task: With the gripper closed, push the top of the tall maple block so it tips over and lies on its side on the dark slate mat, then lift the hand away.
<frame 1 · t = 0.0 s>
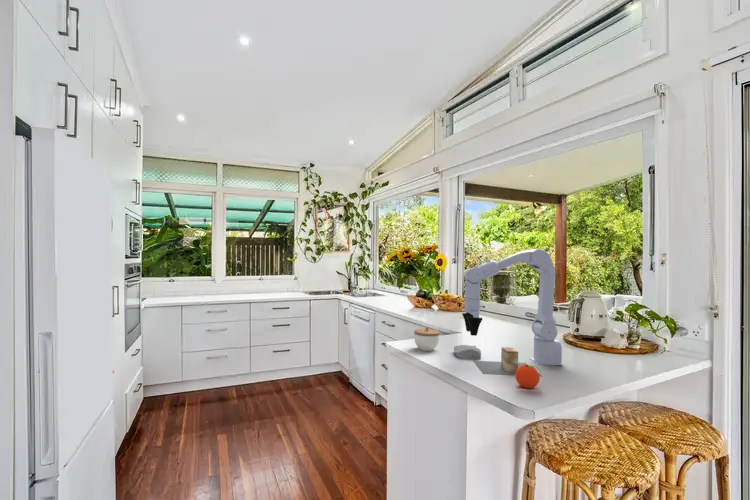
hand: (471, 333, 143), 10 cm above the worktop, tool pointing down, fingers open, 7 cm apart
clementine: (528, 388, 113), on the worktop
maple block: (509, 368, 131), resting on slate mat
stone block: (465, 357, 148), on the worktop
lidded jar: (426, 349, 157), on the worktop
slate mat: (505, 368, 132), on the worktop
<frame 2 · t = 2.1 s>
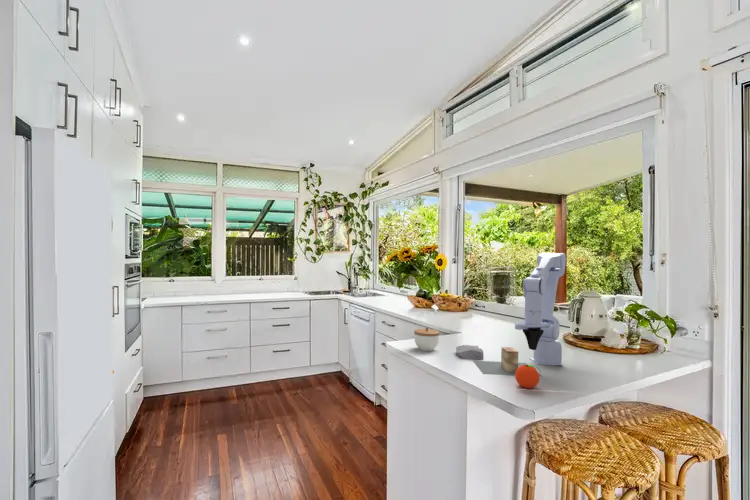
hand: (532, 349, 130), 8 cm above the worktop, tool pointing down, fingers closed
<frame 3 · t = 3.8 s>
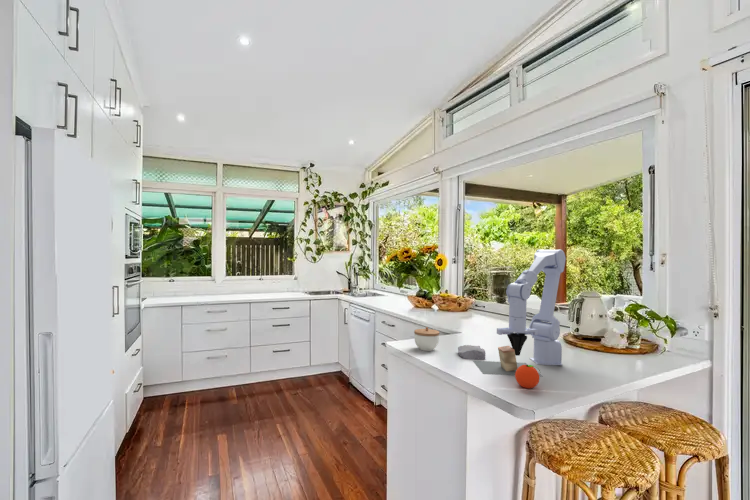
hand: (516, 354, 130), 5 cm above the worktop, tool pointing down, fingers closed
maple block: (509, 367, 131), point 1 cm above the worktop, tilted 11°, touching slate mat
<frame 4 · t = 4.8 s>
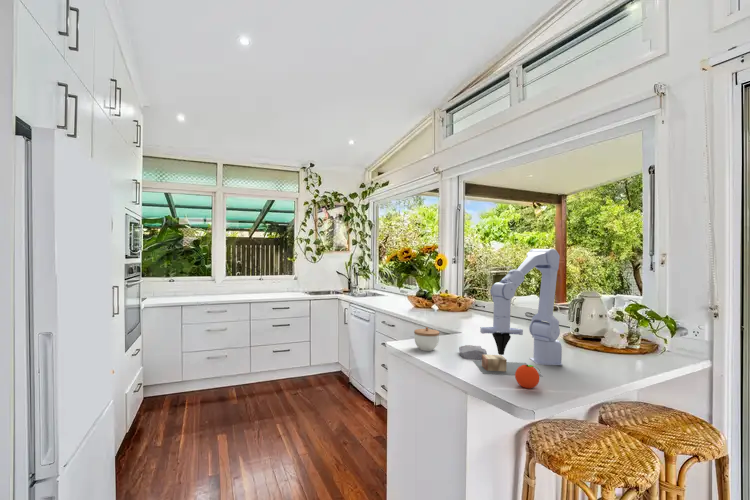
hand: (500, 354, 131), 5 cm above the worktop, tool pointing down, fingers closed
maple block: (503, 363, 131), point 2 cm above the worktop, tilted 90°, touching slate mat
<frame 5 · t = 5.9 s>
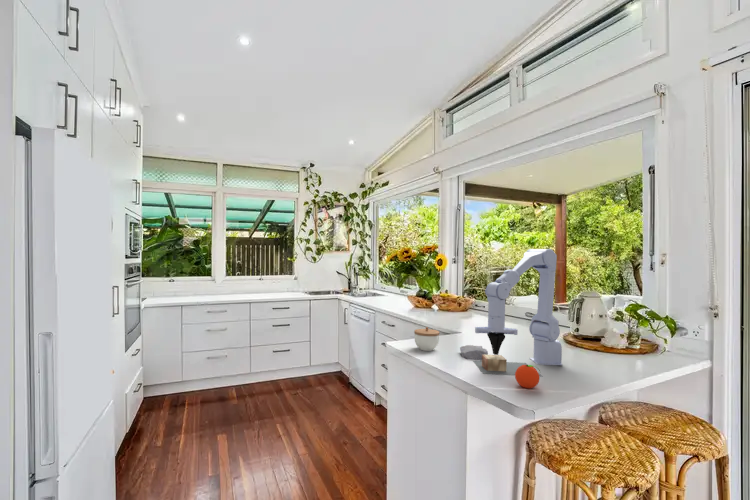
hand: (495, 354, 131), 5 cm above the worktop, tool pointing down, fingers closed
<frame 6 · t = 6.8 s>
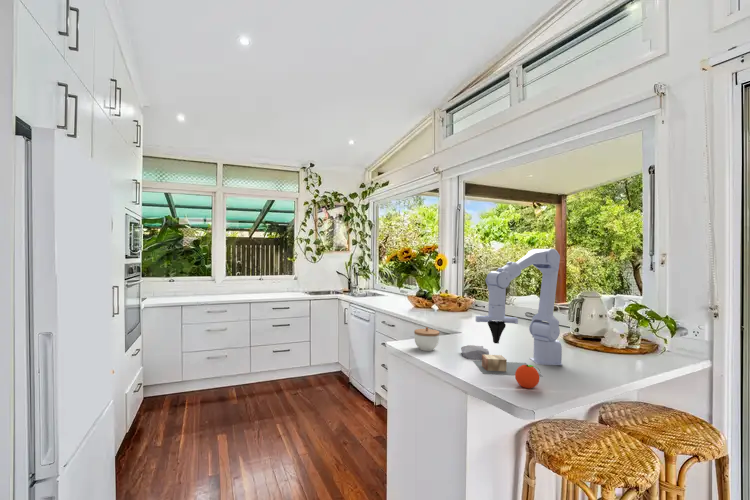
hand: (495, 342, 131), 9 cm above the worktop, tool pointing down, fingers closed
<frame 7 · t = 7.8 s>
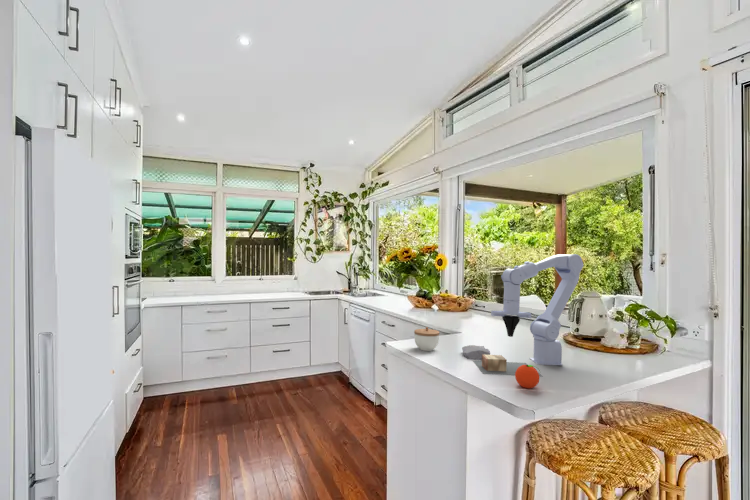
hand: (510, 336, 139), 10 cm above the worktop, tool pointing down, fingers closed
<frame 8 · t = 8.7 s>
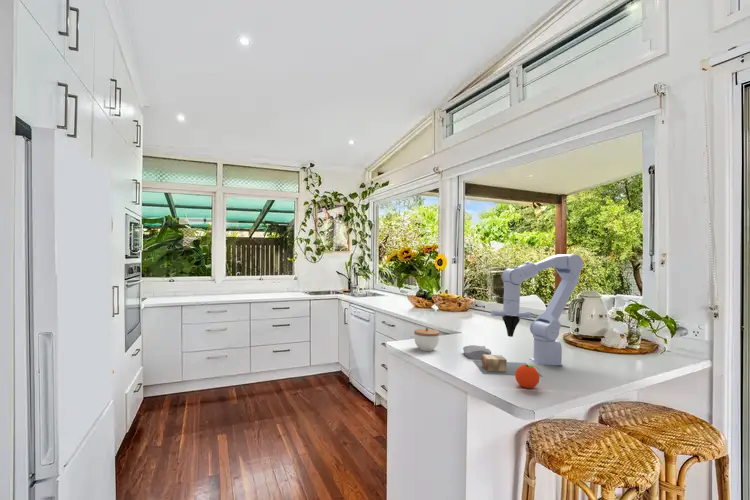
hand: (510, 336, 139), 10 cm above the worktop, tool pointing down, fingers closed
at the end: maple block tilted 90°; maple block inside the target area (2.0 cm from its centre), point 2.3 cm above the worktop; maple block touching slate mat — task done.
